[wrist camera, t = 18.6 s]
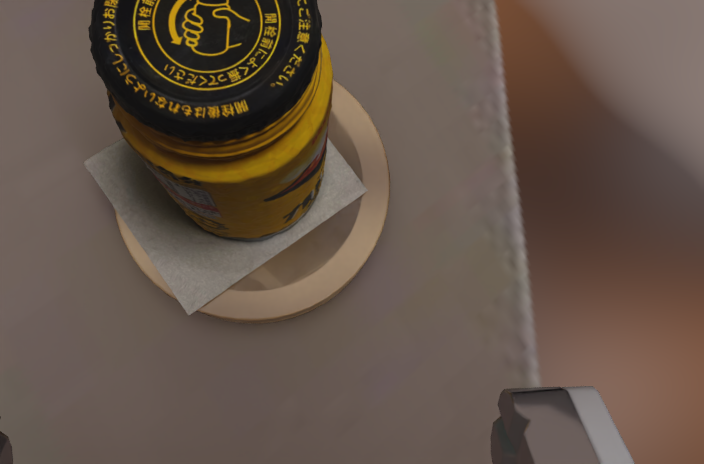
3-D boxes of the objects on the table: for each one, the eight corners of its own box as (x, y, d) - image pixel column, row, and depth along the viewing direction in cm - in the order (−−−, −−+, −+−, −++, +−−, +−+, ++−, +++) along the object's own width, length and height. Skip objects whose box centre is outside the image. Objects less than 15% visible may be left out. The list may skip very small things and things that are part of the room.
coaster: (391, 317, 28) (398, 314, 26) (124, 329, 27) (108, 327, 25) (377, 73, 30) (382, 51, 28) (128, 77, 29) (114, 55, 27)
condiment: (367, 191, 26) (417, 58, 15) (189, 315, 25) (86, 278, 13) (263, 51, 27) (232, -181, 16) (85, 165, 26) (-98, 4, 14)
